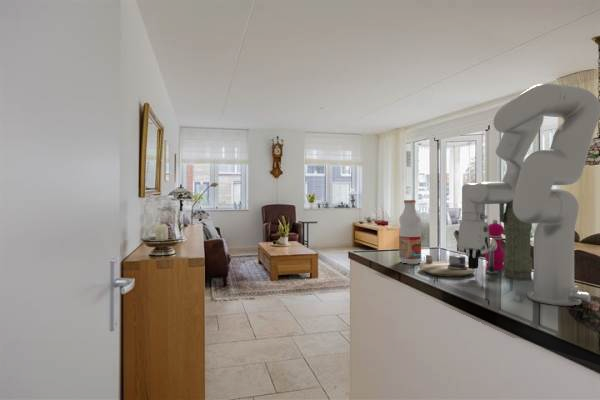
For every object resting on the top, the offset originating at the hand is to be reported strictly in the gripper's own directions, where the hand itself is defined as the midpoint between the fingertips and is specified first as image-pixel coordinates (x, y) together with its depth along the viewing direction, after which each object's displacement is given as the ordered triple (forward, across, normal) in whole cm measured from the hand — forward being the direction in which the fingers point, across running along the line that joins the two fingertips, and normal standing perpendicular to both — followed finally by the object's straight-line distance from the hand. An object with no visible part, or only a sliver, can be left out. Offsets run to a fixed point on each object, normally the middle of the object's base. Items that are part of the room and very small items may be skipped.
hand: (473, 268), depth 133 cm
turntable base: (+4, +12, 0) cm, 12 cm away
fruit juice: (+4, +34, -3) cm, 34 cm away
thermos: (+4, -7, -15) cm, 17 cm away
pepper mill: (+4, +7, -23) cm, 24 cm away
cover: (+1, +7, 0) cm, 7 cm away
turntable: (+3, +12, 0) cm, 12 cm away
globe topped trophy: (+4, +2, -13) cm, 14 cm away
